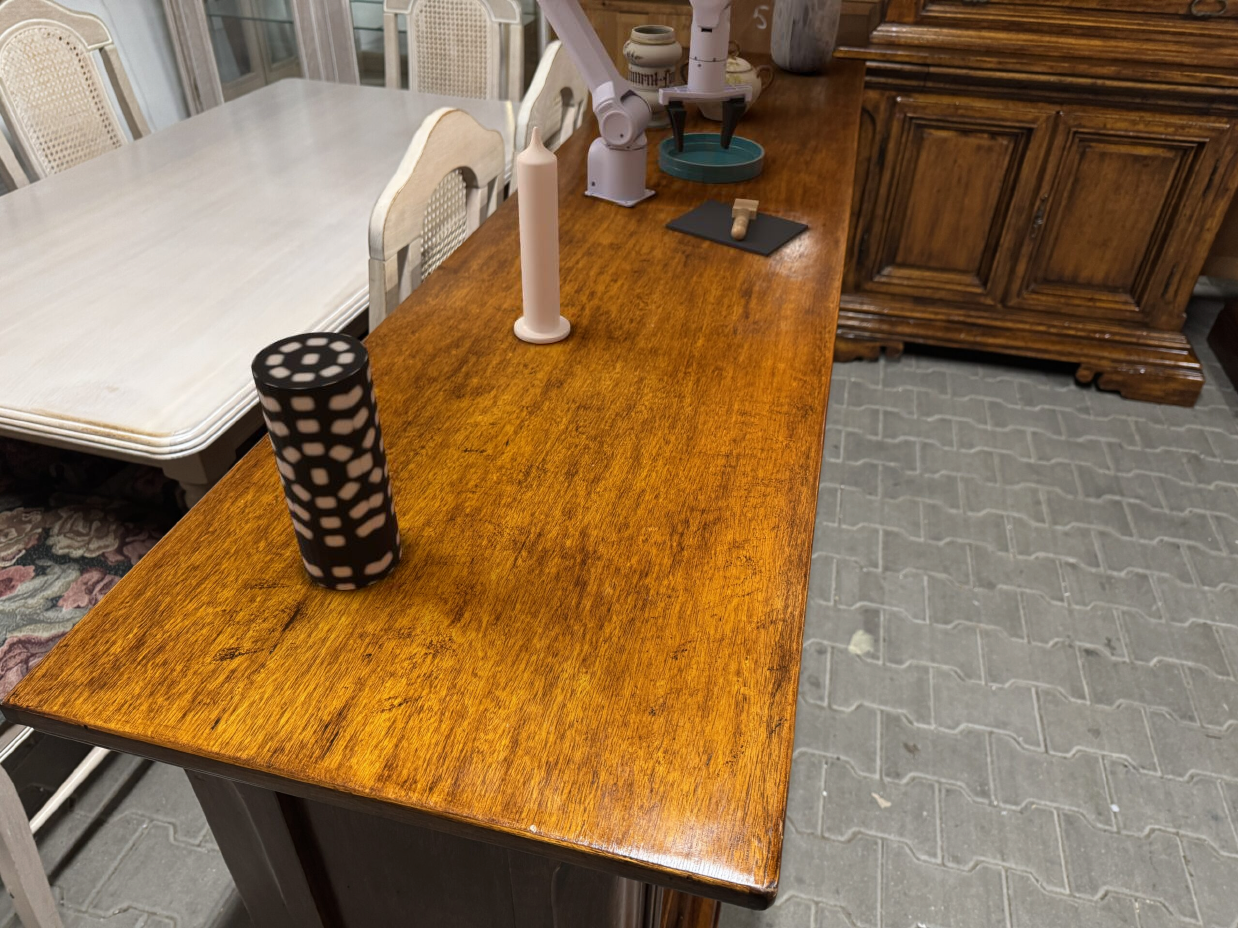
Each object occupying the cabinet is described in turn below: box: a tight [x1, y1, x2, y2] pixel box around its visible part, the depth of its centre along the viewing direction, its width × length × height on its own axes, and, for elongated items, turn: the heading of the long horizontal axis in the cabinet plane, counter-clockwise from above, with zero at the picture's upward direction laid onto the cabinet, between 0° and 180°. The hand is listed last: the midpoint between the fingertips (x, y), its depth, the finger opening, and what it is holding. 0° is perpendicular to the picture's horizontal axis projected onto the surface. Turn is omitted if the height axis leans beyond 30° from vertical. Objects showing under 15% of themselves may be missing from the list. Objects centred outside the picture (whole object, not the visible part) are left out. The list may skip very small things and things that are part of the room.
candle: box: [513, 126, 571, 345], centre depth 103 cm, size 7×7×25 cm
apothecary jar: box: [622, 24, 683, 129], centre depth 177 cm, size 12×12×18 cm
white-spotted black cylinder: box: [250, 331, 403, 591], centre depth 71 cm, size 8×8×20 cm
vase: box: [770, 0, 843, 74], centre depth 213 cm, size 16×16×30 cm
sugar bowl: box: [679, 39, 775, 122], centre depth 184 cm, size 20×15×15 cm
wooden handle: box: [731, 198, 760, 240], centre depth 138 cm, size 14×4×2 cm, turn 168°
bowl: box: [657, 132, 766, 184], centre depth 160 cm, size 19×19×4 cm
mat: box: [665, 199, 809, 258], centre depth 139 cm, size 18×14×1 cm
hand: (701, 149), depth 140 cm, fingers open, 7 cm apart
